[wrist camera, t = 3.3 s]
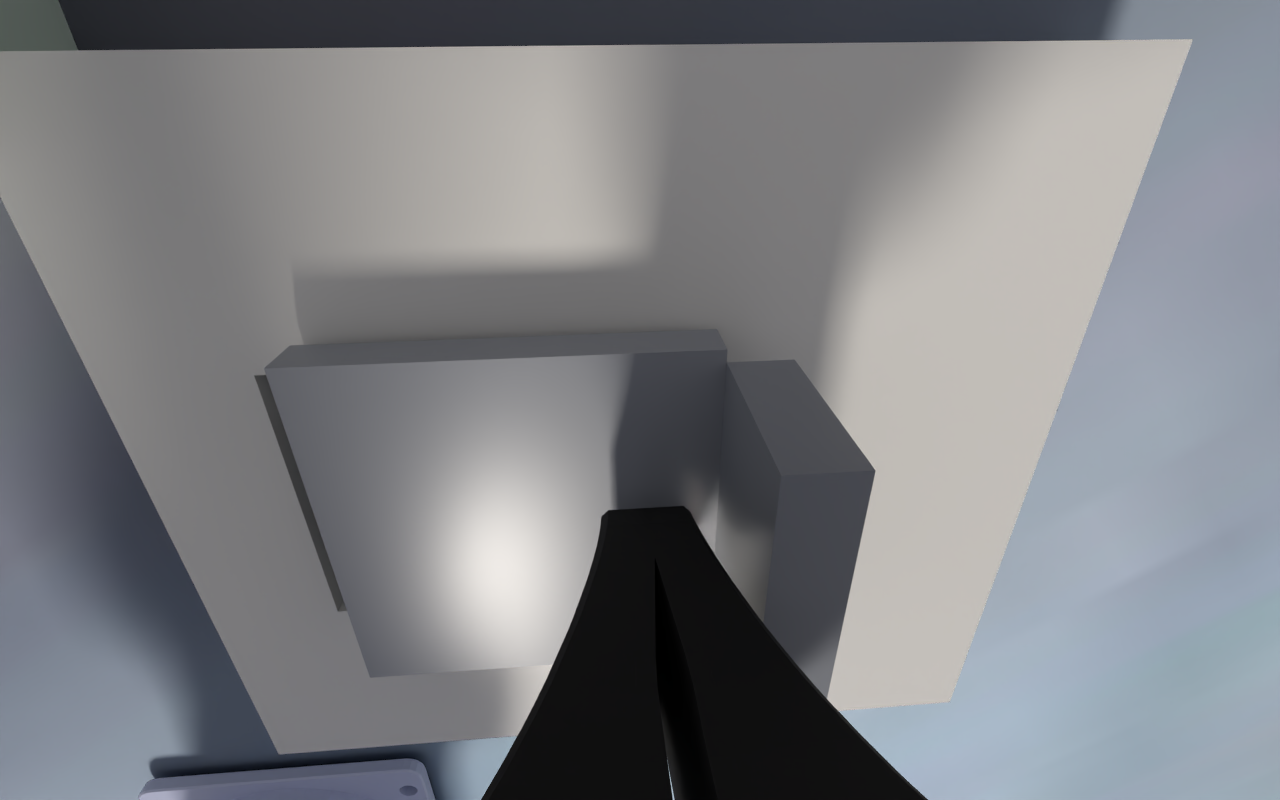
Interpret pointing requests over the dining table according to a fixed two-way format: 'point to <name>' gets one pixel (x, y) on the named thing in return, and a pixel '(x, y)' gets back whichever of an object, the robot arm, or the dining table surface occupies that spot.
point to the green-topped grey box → (34, 26)
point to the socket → (581, 287)
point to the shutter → (563, 484)
